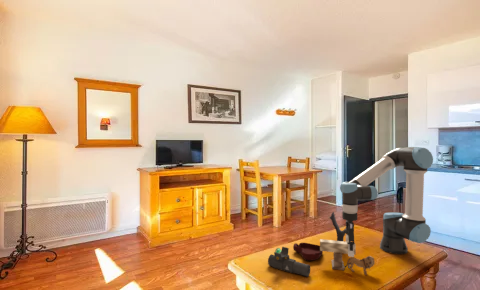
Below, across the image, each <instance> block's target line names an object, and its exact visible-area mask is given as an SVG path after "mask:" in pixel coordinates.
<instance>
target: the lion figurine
mask: <svg viewBox="0 0 480 290" xmlns="http://www.w3.org/2000/svg"><path fill="white" fill-rule="evenodd" d="M354 265H356V266H357V267H359V268H362V269H363V273H364V275H365V276H367V275H368V272H367V270H368V269H371V268H372V267H374V265H375V258H374V257H373V256H371V255H368V256H366V257H363V258H362V259H360V258H357V257H355V256H354V257H350V256H349V258H348V259H347V262H346V265H344V269H345V268H348V269H350V270H351V272H353V273H354V272H355V270H354V269H353V267H354Z"/></svg>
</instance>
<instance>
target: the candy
mask: <svg viewBox="0 0 480 290" xmlns="http://www.w3.org/2000/svg"><path fill="white" fill-rule="evenodd" d="M281 250H282V248H280V247H277V248H275V251H274V252H276V253H280V252H281Z"/></svg>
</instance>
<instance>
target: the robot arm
mask: <svg viewBox="0 0 480 290" xmlns="http://www.w3.org/2000/svg"><path fill="white" fill-rule="evenodd" d="M380 158H381V159H380V160H378V161H377V162H376V163H374V164H372V165H371V166H369V167H368V168H367V169H366V170H364V171H362V172H360V173H359V174H358V175H357V176H355V177H354V178H353V179H351V180H350V181H343V182H341V184H340V186H339V191H340V192H341V193H342V197H341V198H342V204H341V208H342V213H341V214H342V215H341V216H342V219H343V220H345V228H346V233H345V242H347V244H348V254H347V256H348V257H349V258H350V257H355V255H354V244H355V245H356V242H355V223H354V222H356V221H357V220H358V211H359V210H358V205H359V204H358V203H359V202H358V201H371V200H373V201H374V200H375V199H377V197H378V189H377V188H376V186H373V185H370V184H371V183H373V182H374V181H375V180H377V179H378V178H379V177H381V176H383V175H384V174H385V173H387V172H388V171H390V170H394V169H395V168H397V167H403V171H404V172H405V173H406V175H405V176H406V179H405V183H406V184H405V202H404V203H405V206H404V213H403V212H384V213H383V217H382V237H381V240H380V243H379V248H380V249H381V250H382V251H384V252H385V253H389V254H392V255H394V254H395V255H405V254H408V246H407V242H406V240H408V241H411V242H413V243H414V242H415V243H416V244H422V243H425V242H427V240H428V239H429V238H430V236H431V231H432V230H431V227H430V226H429V224H428V223H427V222H426V220H427V219H426V217H424V216H423V214H424V213H423V212H424V210H423V209H424V187H425V184H424V183H425V174H426V173H427V172H428V169H429V168H431V166H432V165H433V164H434V156H433V153H432V152H431V151H430V150H429V149H428V148H426V147H418V146H399V147H397V148H394V149H392V150H390V151H388V152H387V153H385V154H384V155H382V156H381V157H380Z"/></svg>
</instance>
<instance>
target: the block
mask: <svg viewBox="0 0 480 290" xmlns="http://www.w3.org/2000/svg"><path fill="white" fill-rule="evenodd" d="M319 246H320V251H323V252H329V253H334V252H336V253H342V254H347V255H348V244H347V242H346V241H344V240H343V241H337V240H333V239H321V238H320V239H319ZM356 247H357V246H356V243H355V244H354V256H356Z"/></svg>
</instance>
